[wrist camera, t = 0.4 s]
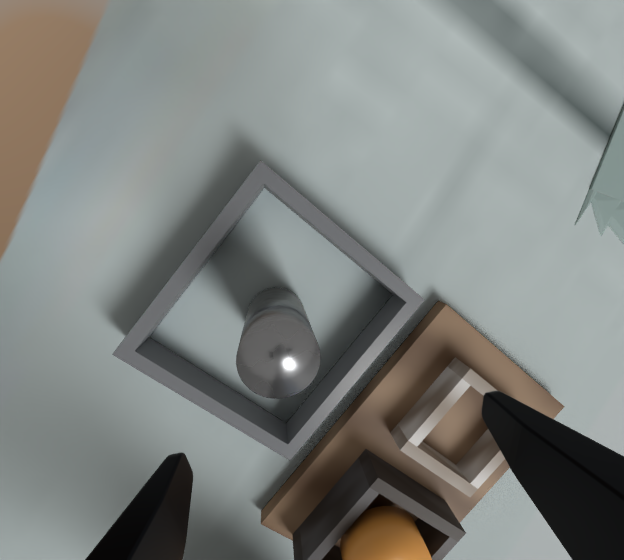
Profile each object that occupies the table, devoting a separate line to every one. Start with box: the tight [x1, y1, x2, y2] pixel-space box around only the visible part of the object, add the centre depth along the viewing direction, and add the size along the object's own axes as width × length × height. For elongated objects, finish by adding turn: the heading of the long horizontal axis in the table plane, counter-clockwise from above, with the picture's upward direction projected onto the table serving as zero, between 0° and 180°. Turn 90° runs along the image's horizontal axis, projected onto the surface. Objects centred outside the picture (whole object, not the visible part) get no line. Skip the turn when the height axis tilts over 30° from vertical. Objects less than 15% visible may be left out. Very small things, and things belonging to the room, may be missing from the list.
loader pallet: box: [261, 301, 564, 560], centre depth 26 cm, size 24×16×4 cm, turn 141°
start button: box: [340, 506, 432, 560], centre depth 24 cm, size 7×7×2 cm
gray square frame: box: [112, 160, 424, 460], centre depth 23 cm, size 16×15×2 cm
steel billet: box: [236, 287, 321, 399], centre depth 20 cm, size 4×4×8 cm
